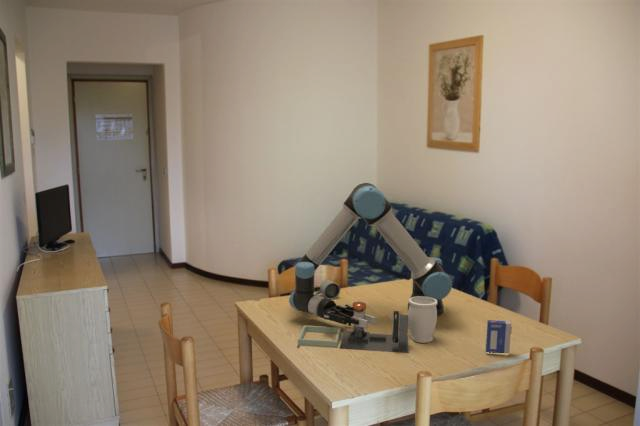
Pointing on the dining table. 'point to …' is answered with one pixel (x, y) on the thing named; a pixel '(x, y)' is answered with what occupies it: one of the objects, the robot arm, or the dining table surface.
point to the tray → (319, 342)
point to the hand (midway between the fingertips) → (370, 322)
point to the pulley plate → (381, 338)
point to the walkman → (498, 336)
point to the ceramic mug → (328, 290)
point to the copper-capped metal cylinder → (360, 313)
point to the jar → (422, 318)
